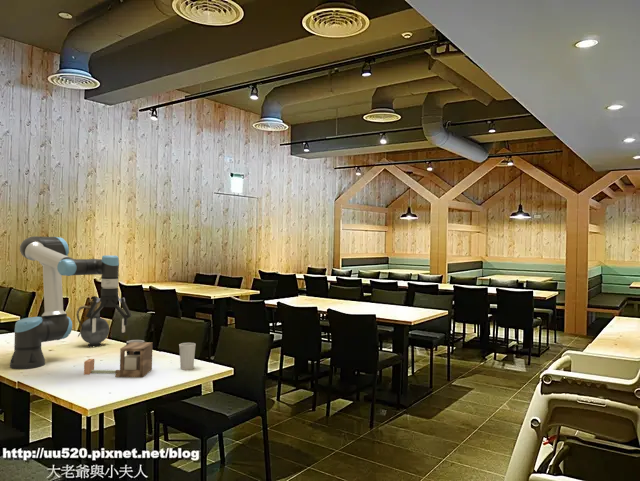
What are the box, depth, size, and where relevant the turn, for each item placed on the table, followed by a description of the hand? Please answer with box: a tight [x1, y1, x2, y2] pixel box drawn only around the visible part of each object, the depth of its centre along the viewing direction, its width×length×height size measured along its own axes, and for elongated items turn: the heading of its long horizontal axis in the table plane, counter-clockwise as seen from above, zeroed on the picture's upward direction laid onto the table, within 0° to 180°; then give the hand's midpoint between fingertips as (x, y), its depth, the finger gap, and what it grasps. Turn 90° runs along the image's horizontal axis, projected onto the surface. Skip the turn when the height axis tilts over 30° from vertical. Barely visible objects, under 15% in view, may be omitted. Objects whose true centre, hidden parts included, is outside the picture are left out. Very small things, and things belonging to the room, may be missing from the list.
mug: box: [125, 339, 145, 356], centre depth 266 cm, size 12×9×10 cm
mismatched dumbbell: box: [83, 354, 140, 376], centre depth 239 cm, size 24×6×8 cm, turn 93°
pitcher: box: [76, 295, 110, 348], centre depth 301 cm, size 11×19×30 cm, turn 140°
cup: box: [178, 342, 197, 371], centre depth 251 cm, size 8×8×12 cm
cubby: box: [114, 341, 153, 378], centre depth 240 cm, size 12×15×13 cm
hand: (108, 332), depth 241 cm, fingers open, 13 cm apart
